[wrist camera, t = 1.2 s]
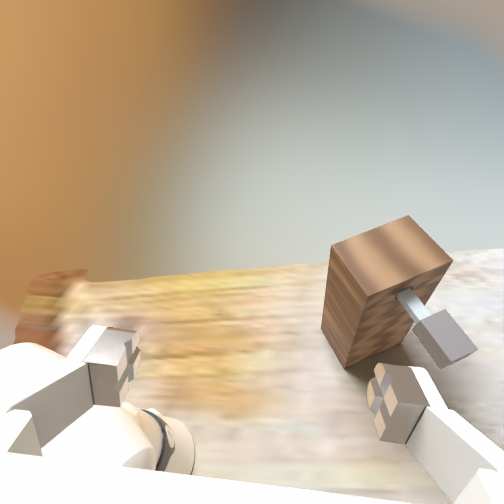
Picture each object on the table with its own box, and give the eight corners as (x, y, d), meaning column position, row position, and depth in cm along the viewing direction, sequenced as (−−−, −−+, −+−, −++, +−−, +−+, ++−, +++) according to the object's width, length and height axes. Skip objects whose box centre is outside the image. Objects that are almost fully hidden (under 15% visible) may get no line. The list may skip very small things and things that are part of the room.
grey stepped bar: (465, 357, 44) (478, 349, 41) (440, 369, 44) (451, 361, 41) (394, 265, 53) (400, 253, 50) (372, 274, 53) (377, 263, 50)
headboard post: (343, 368, 70) (367, 296, 45) (321, 328, 76) (331, 245, 51) (400, 343, 72) (453, 260, 47) (374, 305, 78) (408, 215, 53)
